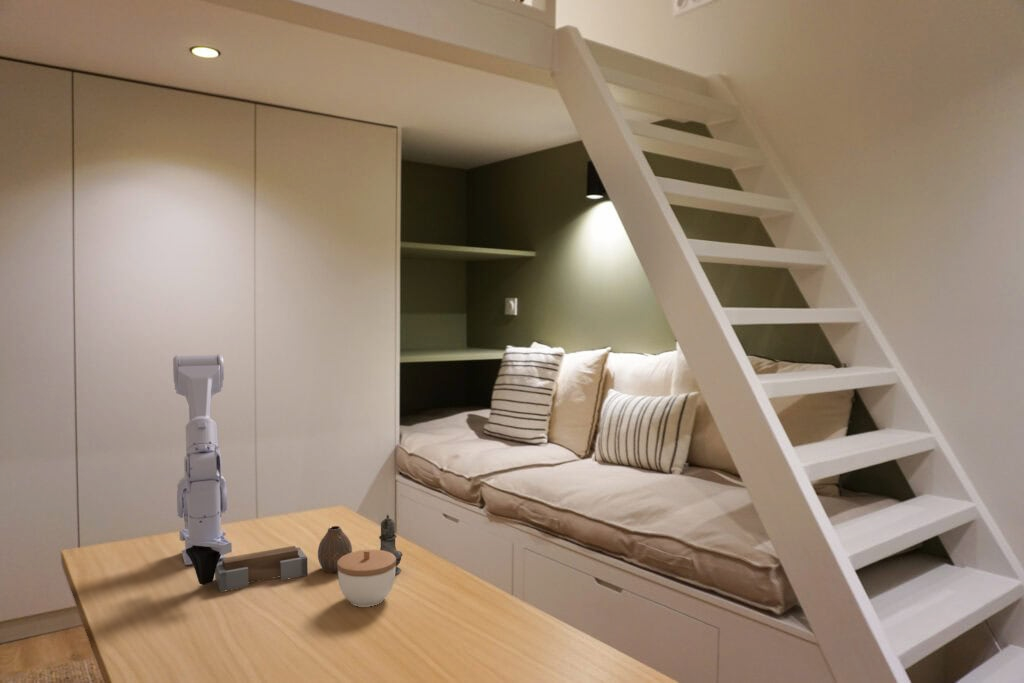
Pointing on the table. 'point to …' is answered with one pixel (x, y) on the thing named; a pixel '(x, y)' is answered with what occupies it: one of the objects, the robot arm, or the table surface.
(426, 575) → the table surface
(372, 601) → the lidded jar
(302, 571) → the cap far
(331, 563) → the vase
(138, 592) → the table surface
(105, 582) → the table surface
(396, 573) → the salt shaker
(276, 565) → the slat
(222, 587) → the gray u-shaped clamp
